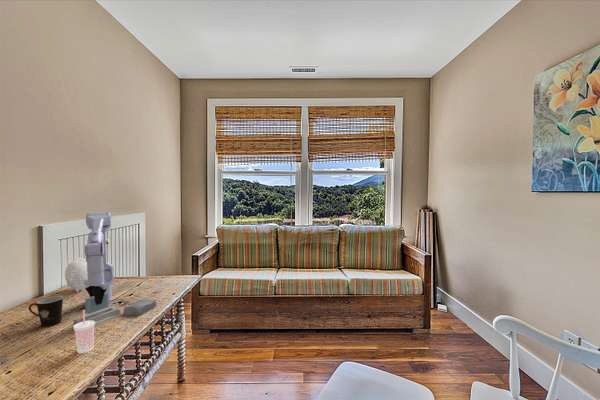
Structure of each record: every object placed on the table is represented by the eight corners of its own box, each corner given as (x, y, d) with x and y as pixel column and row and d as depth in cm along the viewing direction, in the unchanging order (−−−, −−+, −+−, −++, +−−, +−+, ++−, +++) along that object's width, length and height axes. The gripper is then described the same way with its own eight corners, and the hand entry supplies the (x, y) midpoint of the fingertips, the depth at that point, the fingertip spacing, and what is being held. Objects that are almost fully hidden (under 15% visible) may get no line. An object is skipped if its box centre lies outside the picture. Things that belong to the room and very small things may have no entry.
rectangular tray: (73, 326, 126) (73, 319, 125) (111, 312, 139) (110, 306, 139) (83, 329, 122) (83, 322, 122) (120, 315, 136) (120, 309, 135)
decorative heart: (71, 287, 175) (69, 257, 174) (93, 284, 180) (92, 255, 179) (62, 297, 159) (60, 264, 158) (87, 294, 163) (85, 261, 162)
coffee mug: (69, 320, 131) (68, 297, 131) (46, 329, 123) (45, 304, 123) (50, 317, 135) (49, 294, 134) (27, 325, 127) (26, 301, 126)
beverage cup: (91, 353, 105) (89, 312, 104) (71, 355, 104) (68, 314, 103) (99, 344, 111) (97, 305, 110) (80, 346, 110) (77, 307, 109)
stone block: (121, 319, 136) (141, 316, 134) (119, 308, 136) (139, 305, 134) (140, 309, 148) (159, 306, 146) (138, 299, 148) (157, 296, 146)
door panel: (85, 313, 127) (85, 298, 127) (105, 306, 134) (105, 292, 134) (88, 314, 126) (87, 299, 126) (108, 306, 133) (107, 293, 133)
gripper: (75, 271, 129) (77, 303, 130) (95, 276, 123) (97, 309, 123) (93, 267, 136) (94, 298, 136) (113, 271, 129) (114, 303, 129)
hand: (97, 303), depth 130 cm, fingers closed on door panel, 2 cm apart
